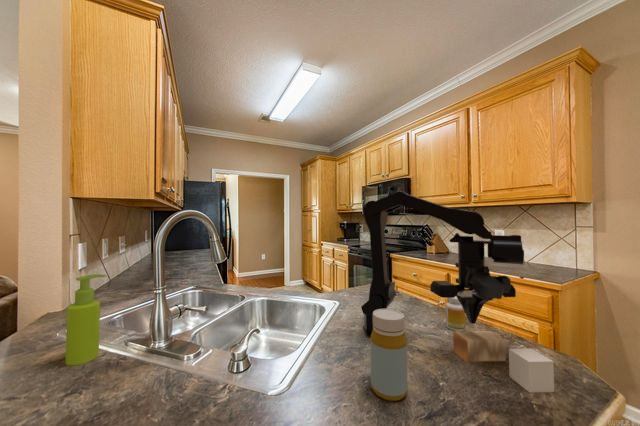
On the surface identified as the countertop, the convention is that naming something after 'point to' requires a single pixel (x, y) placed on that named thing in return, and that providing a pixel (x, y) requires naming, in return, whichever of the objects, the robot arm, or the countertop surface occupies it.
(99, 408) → the countertop surface
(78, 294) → the soap dispenser
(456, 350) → the birch block
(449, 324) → the supplement bottle
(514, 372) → the grey block
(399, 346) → the bottle
